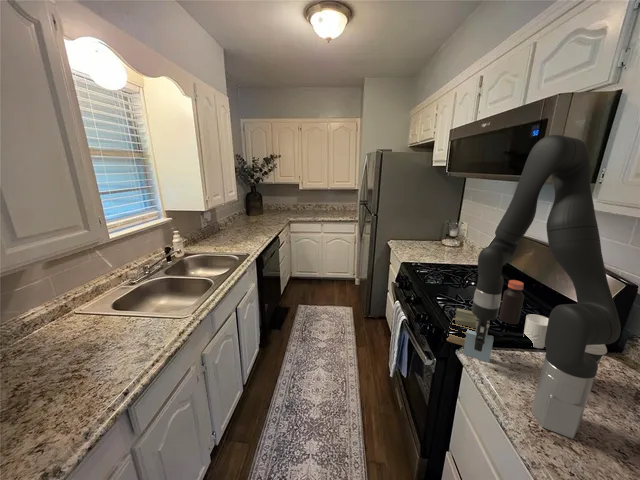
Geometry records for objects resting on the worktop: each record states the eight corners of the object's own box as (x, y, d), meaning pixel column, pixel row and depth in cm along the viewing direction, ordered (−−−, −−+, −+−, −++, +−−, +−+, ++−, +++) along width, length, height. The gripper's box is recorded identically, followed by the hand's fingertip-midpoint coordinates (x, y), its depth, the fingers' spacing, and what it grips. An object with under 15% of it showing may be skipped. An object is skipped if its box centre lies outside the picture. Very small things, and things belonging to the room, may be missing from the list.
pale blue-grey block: (489, 362, 90) (493, 340, 87) (462, 354, 94) (466, 332, 91) (489, 358, 92) (493, 336, 89) (463, 350, 96) (466, 329, 93)
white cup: (538, 337, 103) (543, 314, 100) (553, 350, 95) (559, 326, 93) (516, 336, 104) (521, 313, 101) (530, 349, 96) (535, 325, 94)
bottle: (504, 320, 114) (513, 277, 109) (521, 328, 108) (531, 284, 103) (494, 323, 112) (502, 280, 107) (510, 332, 106) (519, 287, 101)
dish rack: (479, 350, 95) (483, 330, 93) (446, 340, 101) (449, 321, 99) (480, 331, 107) (483, 312, 105) (450, 323, 113) (453, 305, 110)
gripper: (499, 315, 80) (490, 359, 84) (499, 296, 91) (491, 336, 96) (471, 308, 84) (464, 351, 88) (475, 290, 95) (468, 329, 100)
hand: (478, 343), depth 92 cm, fingers open, 8 cm apart
